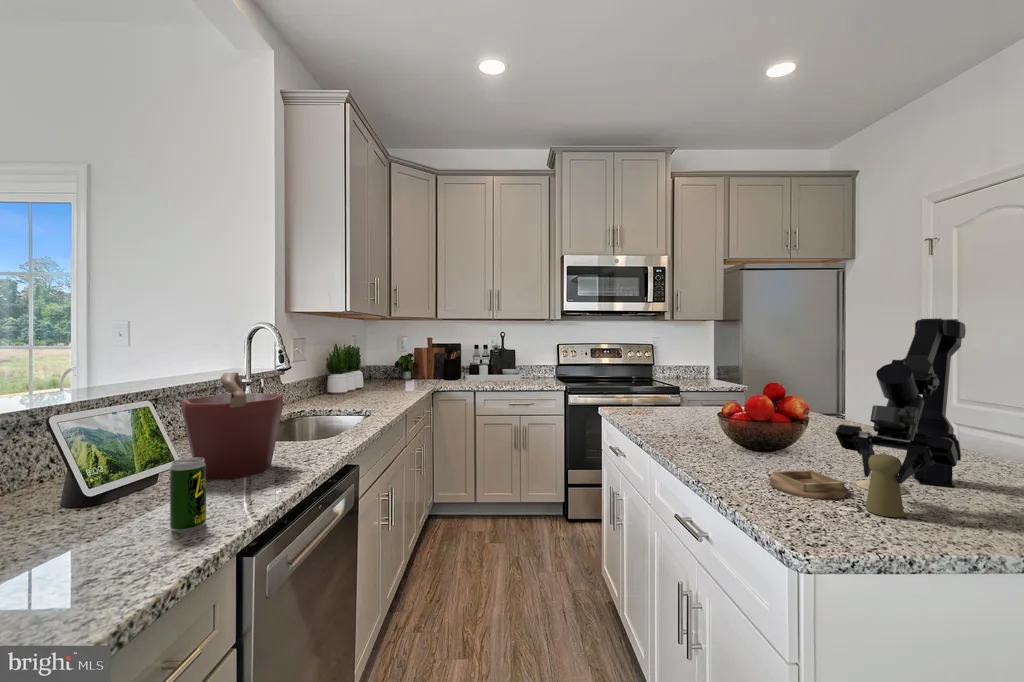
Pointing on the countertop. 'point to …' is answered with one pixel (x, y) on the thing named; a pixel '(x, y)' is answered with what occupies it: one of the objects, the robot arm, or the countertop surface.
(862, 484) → the cork coaster
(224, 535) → the countertop surface
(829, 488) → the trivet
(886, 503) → the pepper shaker
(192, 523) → the green soda can
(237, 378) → the bucket
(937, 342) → the robot arm
